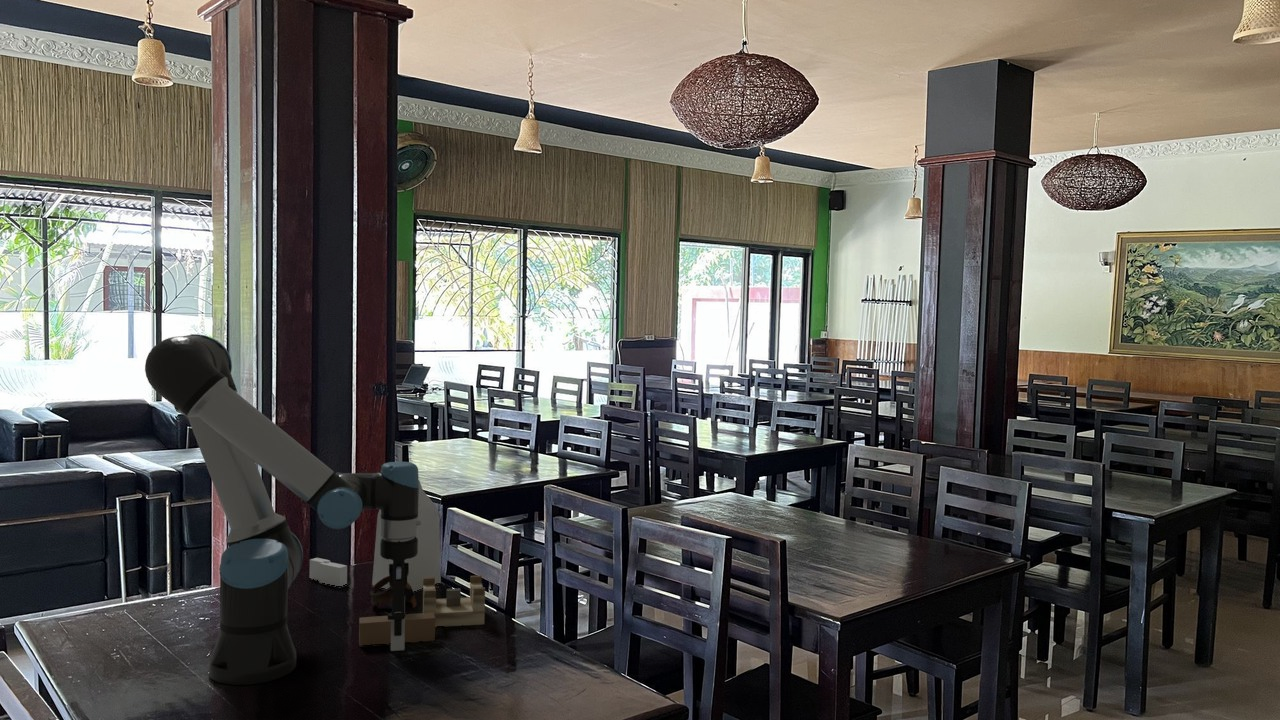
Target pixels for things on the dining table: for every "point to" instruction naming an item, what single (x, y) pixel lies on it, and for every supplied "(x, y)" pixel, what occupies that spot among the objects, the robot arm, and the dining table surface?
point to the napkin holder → (328, 572)
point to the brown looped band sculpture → (388, 593)
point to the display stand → (455, 604)
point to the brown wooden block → (380, 629)
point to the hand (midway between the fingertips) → (397, 638)
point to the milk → (428, 548)
